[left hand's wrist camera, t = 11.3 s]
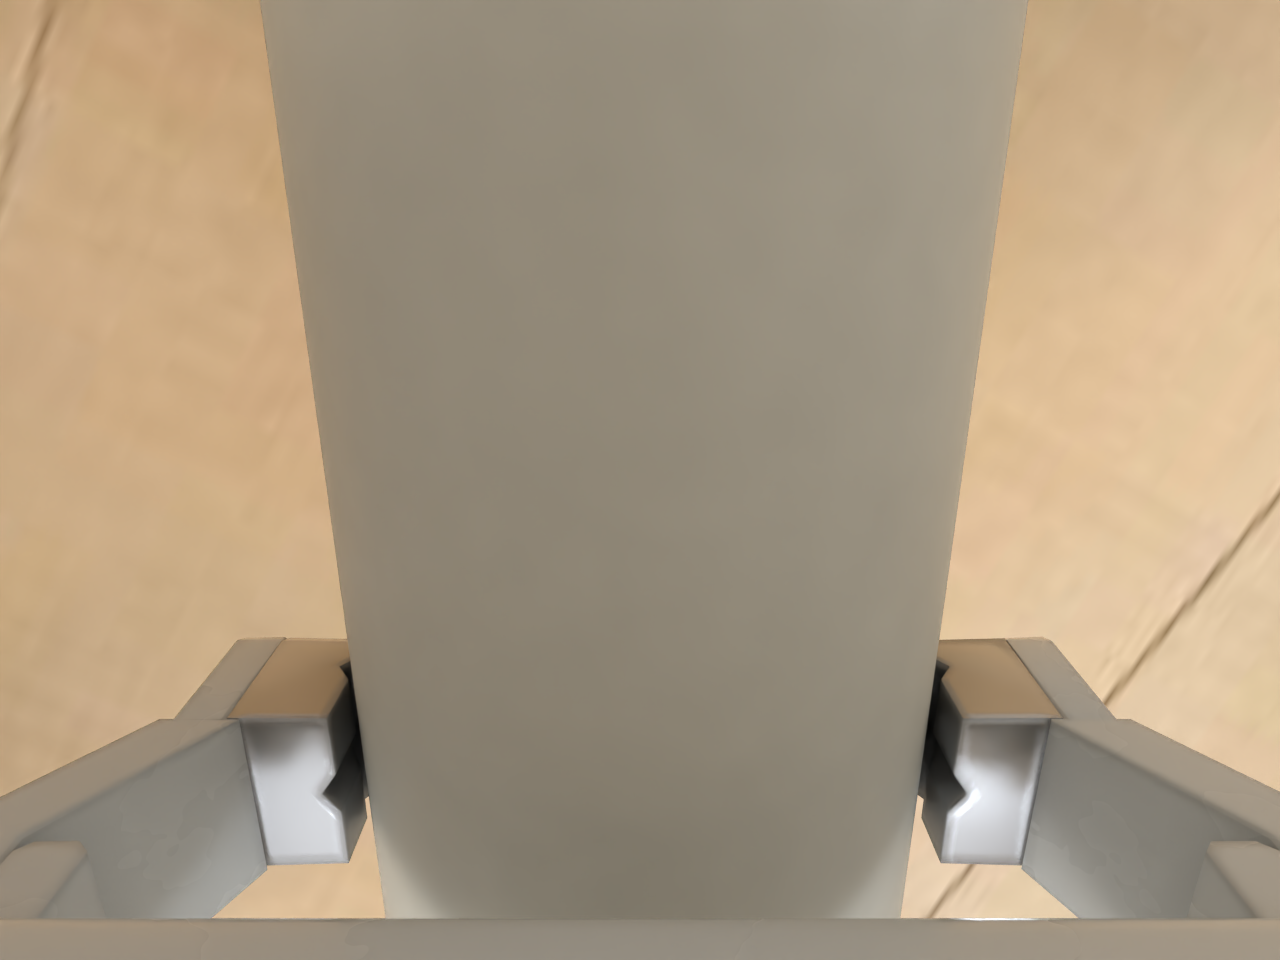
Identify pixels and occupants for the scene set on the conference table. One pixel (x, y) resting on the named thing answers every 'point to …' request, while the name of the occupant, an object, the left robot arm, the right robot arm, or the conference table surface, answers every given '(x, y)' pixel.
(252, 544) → the conference table surface
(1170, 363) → the conference table surface
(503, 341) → the rod
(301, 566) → the conference table surface
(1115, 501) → the conference table surface
